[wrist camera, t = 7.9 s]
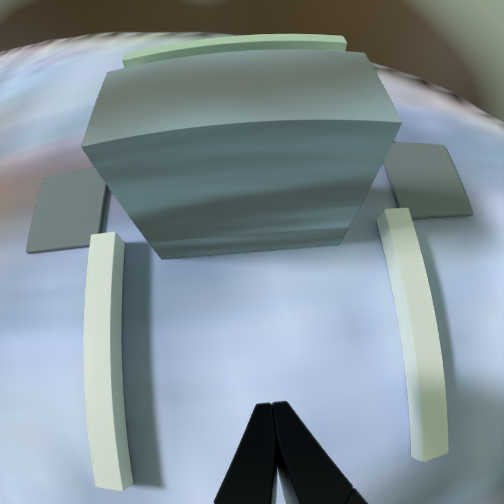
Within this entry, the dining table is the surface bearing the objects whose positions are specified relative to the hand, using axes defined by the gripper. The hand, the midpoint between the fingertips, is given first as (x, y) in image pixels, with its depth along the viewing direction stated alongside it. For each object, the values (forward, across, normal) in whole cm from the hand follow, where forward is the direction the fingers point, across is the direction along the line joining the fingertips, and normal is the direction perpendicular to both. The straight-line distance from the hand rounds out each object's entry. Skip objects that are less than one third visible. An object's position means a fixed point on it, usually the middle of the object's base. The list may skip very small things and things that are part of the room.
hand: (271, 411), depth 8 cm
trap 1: (+14, -12, -3) cm, 19 cm away
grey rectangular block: (+16, 0, -5) cm, 16 cm away
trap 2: (+14, +12, -3) cm, 19 cm away
